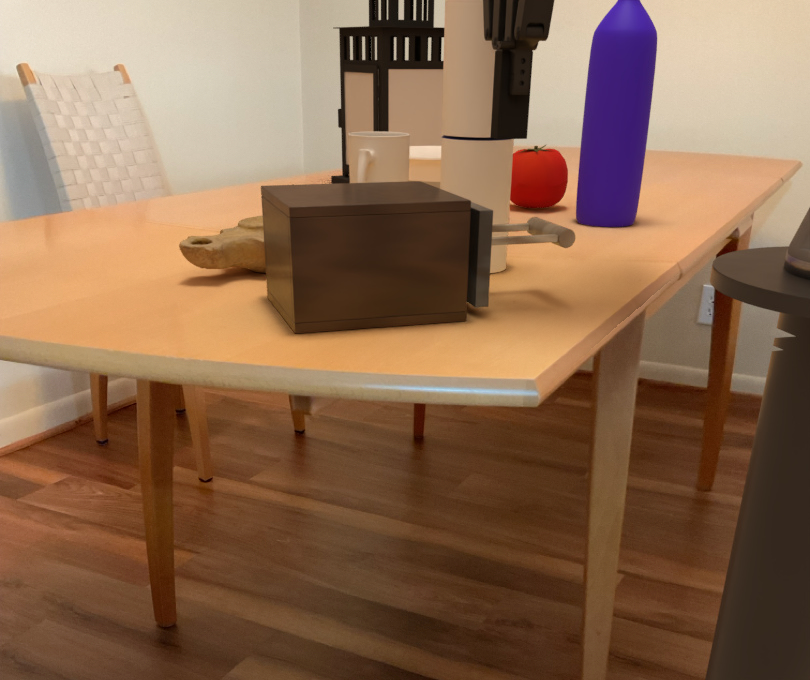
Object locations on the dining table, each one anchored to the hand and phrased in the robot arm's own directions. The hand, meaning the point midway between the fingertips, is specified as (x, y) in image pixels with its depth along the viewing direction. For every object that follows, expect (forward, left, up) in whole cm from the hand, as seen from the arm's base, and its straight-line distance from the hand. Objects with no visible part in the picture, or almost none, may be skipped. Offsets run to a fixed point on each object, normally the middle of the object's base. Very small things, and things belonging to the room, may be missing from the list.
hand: (508, 137), depth 77 cm
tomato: (+12, -56, -14) cm, 58 cm away
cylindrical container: (+7, -13, -14) cm, 20 cm away
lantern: (+39, -70, -14) cm, 81 cm away
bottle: (0, -48, -14) cm, 50 cm away
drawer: (+4, +4, -13) cm, 14 cm away
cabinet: (+10, +8, -14) cm, 19 cm away
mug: (+20, -17, -14) cm, 29 cm away
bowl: (+21, -40, -14) cm, 47 cm away
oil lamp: (+26, -1, -14) cm, 29 cm away
